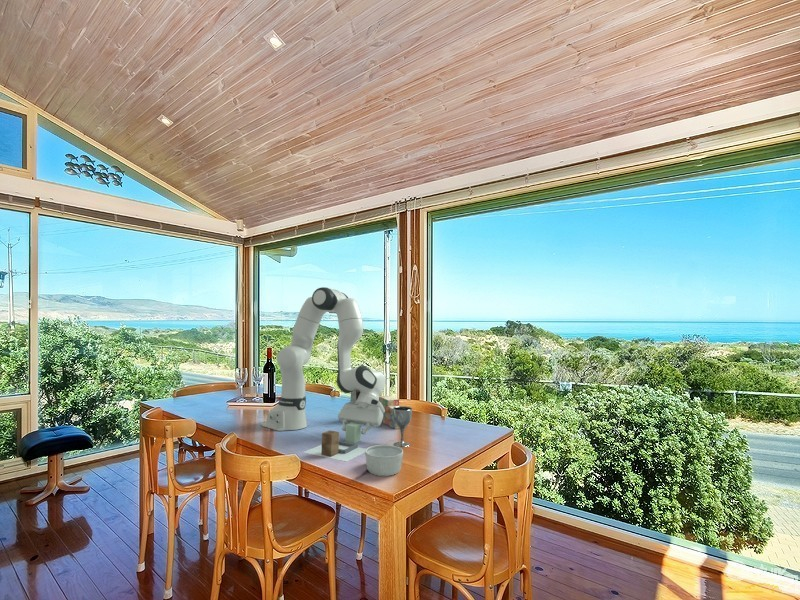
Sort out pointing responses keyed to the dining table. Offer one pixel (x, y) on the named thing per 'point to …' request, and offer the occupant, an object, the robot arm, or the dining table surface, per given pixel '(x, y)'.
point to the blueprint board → (340, 451)
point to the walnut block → (330, 443)
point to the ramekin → (383, 459)
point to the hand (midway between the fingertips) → (353, 431)
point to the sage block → (353, 432)
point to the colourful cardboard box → (389, 410)
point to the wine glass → (402, 421)
